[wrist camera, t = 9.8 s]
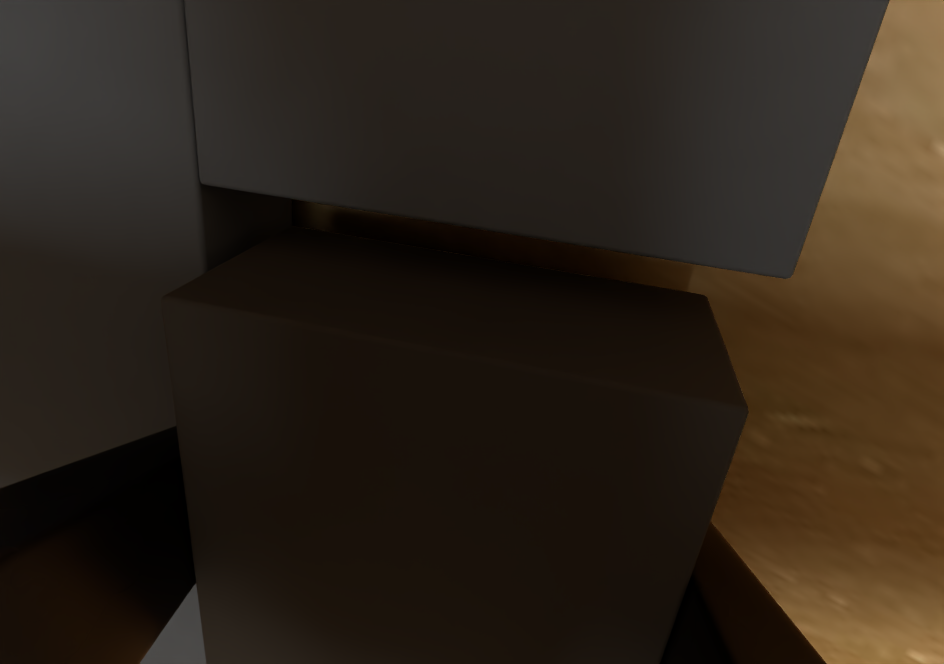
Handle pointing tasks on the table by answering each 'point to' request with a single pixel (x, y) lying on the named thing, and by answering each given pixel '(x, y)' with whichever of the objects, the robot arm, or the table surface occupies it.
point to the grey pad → (374, 160)
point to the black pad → (442, 455)
